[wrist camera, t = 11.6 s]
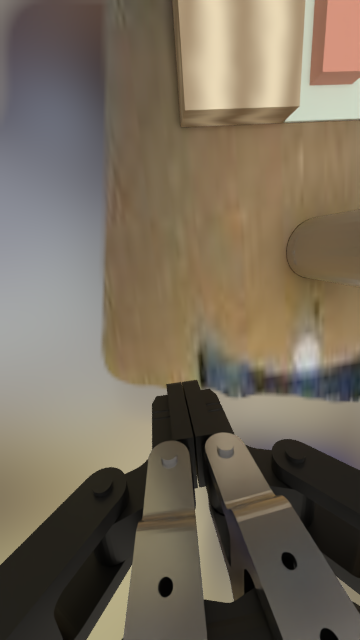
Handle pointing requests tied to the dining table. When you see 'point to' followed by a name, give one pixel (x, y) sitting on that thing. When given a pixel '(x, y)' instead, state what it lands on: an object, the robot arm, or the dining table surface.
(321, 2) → the tile
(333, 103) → the mat
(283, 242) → the dining table surface
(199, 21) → the board
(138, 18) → the dining table surface
